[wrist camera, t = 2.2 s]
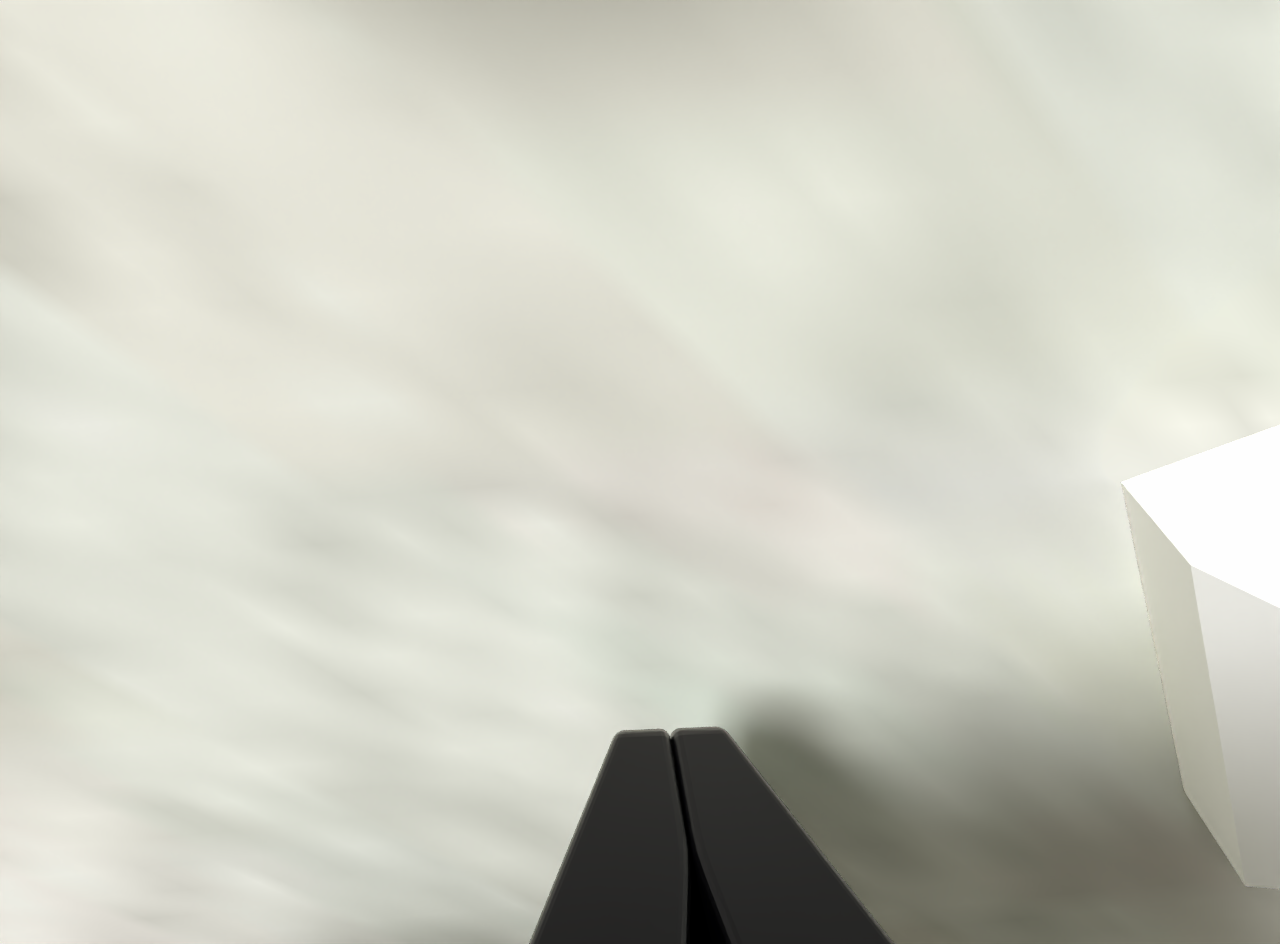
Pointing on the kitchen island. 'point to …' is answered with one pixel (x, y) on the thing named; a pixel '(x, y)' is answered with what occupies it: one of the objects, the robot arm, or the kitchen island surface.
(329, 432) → the kitchen island surface
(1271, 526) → the soap bar
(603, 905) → the robot arm
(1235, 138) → the kitchen island surface
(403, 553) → the kitchen island surface
